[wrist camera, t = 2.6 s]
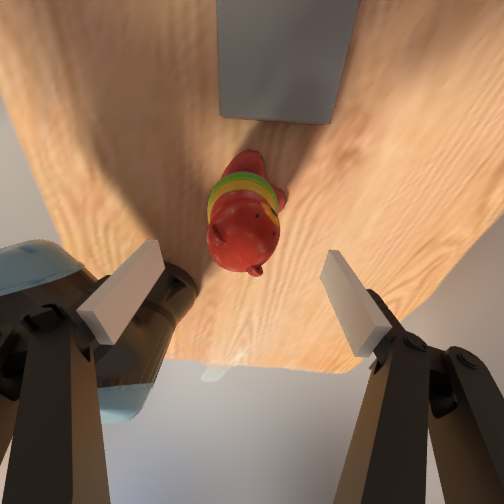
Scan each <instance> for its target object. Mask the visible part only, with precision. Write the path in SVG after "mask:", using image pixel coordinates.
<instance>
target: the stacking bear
mask: <svg viewBox="0 0 504 504" xmlns="http://www.w3.org/2000/svg"><path fill="white" fill-rule="evenodd" d="M285 202H286V197H285V196H284V193H283V191H282V190H280V189H278V188H276V187H274V186H273V185H272V184H271V183H270V182H269V181H268V179H267V178H266V175H265V171H264V160H263V158H262V157H260V156H259V153H258V152H257V151H251V150H245V151H243V152H242V153H240V154H239V155H238V156H237V157H235V158H234V159H233V160H232V161H231V163H230V164H229V165H228V166H227V168H226V169H225V171H224V173H223V175H222V177H221V179H220V181H219V182H218V183H217V184H216V185H215V186H214V188H213V189H212V191H211V193H210V196H209V200H208V207H207V213H208V223H209V226H208V229H207V236H206V241H207V246H208V250H209V252H210V254H211V256H212V258H213V259H214V261H215V262H216V263H217V264H218V265H219V266H221V267H222V268H224V269H226V270H229V271H233V272H248V273H249V274H250V275H251V276H254V277H258V276H261V275H262V274H263V270H262V267H261V265H263V264H264V263H265V262H266V261H267V260H268V259H269V258H270V257H271V255H272V254H273V252H274V250H275V249H276V246H277V244H278V241H279V237H280V223H279V219H278V213H279V212H281V211H282V210H283V209H284V207H285V205H284V204H285Z"/></svg>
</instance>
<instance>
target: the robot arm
mask: <svg viewBox="0 0 504 504" xmlns="http://www.w3.org/2000/svg"><path fill="white" fill-rule="evenodd" d="M320 279H321V281H322V284H323V286H324V288H325V290H326V293H327V295H328V297H329V299H330V302H331V304H332V306H333V308H334V311H335V313H336V315H337V318H338V320H339V322H340V324H341V327H342V329H343V331H344V333H345V336H346V338H347V340H348V342H349V345H350V347H351V349H352V351H353V354H354V356H355V357H369V356H370V355H371V353H372V352H374V354H375V355H376V357H377V358H376V360H375V361H374V362H373V363H372V364H371V366H370V367H369V369H370V370H371V369H372V371H371V375H370V378H369V381H368V385H367V388H366V392H365V395H364V399H363V402H362V405H361V409H360V412H359V416H358V419H357V423H356V426H355V430H354V433H353V437H352V440H351V443H350V447H349V450H348V454H347V457H346V461H345V464H344V467H343V471H342V474H341V478H340V481H339V485H338V488H337V492H336V495H335V499H334V502H333V504H425V496H426V465H427V435H428V434H427V433H428V429H429V433H430V437H431V442H432V447H433V451H434V455H435V460H436V464H437V469H438V473H439V478H440V482H441V487H442V491H443V495H444V500H445V504H504V398H503V396H502V394H501V392H500V391H499V389H498V387H497V385H496V383H495V381H494V379H493V378H492V376H491V374H490V372H489V370H488V368H487V367H486V366H485V364H484V363H483V362H482V361H481V360H480V359H479V358H478V357H477V356H475V355H474V354H472V353H471V352H469V351H467V350H465V349H463V348H460V347H456V346H453V347H450V348H449V349H448V350H446V351H443V350H440V349H437V348H434V347H431V346H428V345H427V344H426V343H425V342H424V341H423V340H422V339H421V338H420V337H418V336H416V335H415V334H413V333H410V332H407V331H406V330H405V329H404V328H403V327H402V325H401V324H400V323H399V321H398V320H397V319H396V317H395V316H394V315H393V313H392V312H391V311H390V309H388V307H387V305H386V304H384V301H383V300H382V299H381V297H380V296H379V295H378V294H377V293H375V292H374V291H373V290H372V289H365V287H364V286H363V284H362V283H361V282H360V280H359V279H358V277H357V276H356V274H355V273H354V272H353V270H352V269H351V267H350V266H349V264H348V263H347V262H346V260H345V259H344V257H343V256H342V254H341V253H340V252H339V251H337V250H329V251H328V254H327V257H326V260H325V263H324V266H323V269H322V272H321V275H320ZM196 295H197V289H196V285H195V283H194V281H193V280H192V278H191V277H190V276H189V275H188V274H187V273H186V272H185V271H183V270H182V269H180V268H179V267H177V266H175V265H172V264H170V263H166V262H163V258H162V254H161V250H160V246H159V242H158V240H153V239H147V240H146V241H145V242H144V243H143V244H142V245H141V246H140V247H139V248H138V249H137V250H136V251H135V252H134V253H133V254H132V255H131V256H130V257H129V258H128V259H127V260H126V261H125V262H124V263H123V264H122V265H121V266H120V267H119V268H118V269H117V270H116V271H115V272H114V273H113V274H112V275H106V276H105V277H103V278H101V279H99V280H98V279H97V278H96V277H94V276H93V275H92V274H91V273H90V272H89V271H88V270H87V269H86V268H85V265H84V264H83V263H81V262H79V261H77V260H76V259H75V258H73V257H72V256H71V255H70V254H69V253H68V252H66V251H65V250H64V249H63V248H62V247H60V246H59V245H58V244H56V243H54V242H51V241H47V240H30V241H26V242H22V243H18V244H15V245H11V246H8V247H5V248H2V249H0V465H1V462H2V460H3V458H4V455H5V453H6V451H7V448H8V446H9V443H10V441H11V439H12V437H13V439H12V445H11V452H10V458H9V463H8V469H7V475H6V481H5V487H4V493H3V499H2V504H111V503H110V496H109V486H108V478H107V469H106V460H105V451H104V443H103V435H102V425H110V424H118V423H123V422H126V421H129V420H131V419H132V418H134V417H135V416H136V415H137V414H138V413H139V412H140V410H141V409H142V408H143V405H144V403H145V401H146V399H147V397H148V394H149V392H150V390H151V388H153V386H154V382H155V380H156V377H157V374H158V372H159V369H160V367H161V364H162V361H163V359H164V356H165V353H166V351H167V348H168V346H169V343H170V340H171V338H172V335H173V332H174V330H175V328H176V325H177V324H178V323H179V322H180V321H181V319H182V318H183V317H184V316H185V315H186V314H187V312H188V311H189V310H190V309H191V308H192V306H193V304H194V301H195V298H196Z"/></svg>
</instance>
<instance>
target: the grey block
mask: <svg viewBox="0 0 504 504" xmlns="http://www.w3.org/2000/svg"><path fill="white" fill-rule="evenodd" d="M359 3H360V0H217V35H218V70H219V105H220V116H222V117H224V118H233V119H246V120H260V121H273V122H287V123H301V124H314V125H324V124H330V123H331V119H332V115H333V111H334V107H335V102H336V98H337V94H338V90H339V86H340V82H341V78H342V73H343V69H344V65H345V61H346V57H347V53H348V48H349V44H350V40H351V36H352V32H353V28H354V23H355V19H356V15H357V11H358V7H359Z"/></svg>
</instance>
